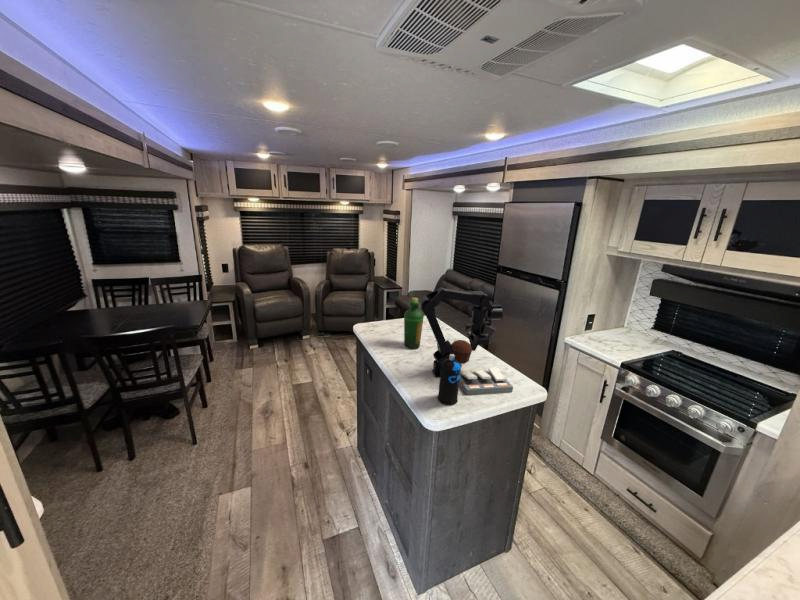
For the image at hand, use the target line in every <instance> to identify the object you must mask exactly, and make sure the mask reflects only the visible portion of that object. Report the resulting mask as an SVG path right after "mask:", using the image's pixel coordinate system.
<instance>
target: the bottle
mask: <svg viewBox="0 0 800 600" xmlns="http://www.w3.org/2000/svg"><path fill="white" fill-rule="evenodd" d="M418 300H419V298H418V297H412V298H411V299H410V301H409V306H410V308H409V309H408V310H407V309H406V311H405V312H404V313H403V320H404V322H403V324H404V325H403V330H404V331H403V332H404V333H403V339H404V341H403V343H404V344H403V345H404V347H405V348H406V349H409V350H416V349H419V348H420V346H421V339H422V330H423V326H424V325H423V324H424V319H425V318H424V316H425V314H424V312H423V311H422V310H421V309H419V307H420V306H419V305H418Z"/></svg>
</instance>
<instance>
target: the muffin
mask: <svg viewBox="0 0 800 600" xmlns="http://www.w3.org/2000/svg"><path fill="white" fill-rule="evenodd" d="M451 345H452V347H453V350H454V352H455V353H454V355H455V358H454V359H455V360H457V361H458V362H459V363H460V364H467V363H468V362H469V361H470V358H471V354H472V353H473V352H474V351H473V350H472V348H471V344H470V342H468V341H466V340H464V339H457V340H454V341H453V342H452V343H451Z"/></svg>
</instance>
